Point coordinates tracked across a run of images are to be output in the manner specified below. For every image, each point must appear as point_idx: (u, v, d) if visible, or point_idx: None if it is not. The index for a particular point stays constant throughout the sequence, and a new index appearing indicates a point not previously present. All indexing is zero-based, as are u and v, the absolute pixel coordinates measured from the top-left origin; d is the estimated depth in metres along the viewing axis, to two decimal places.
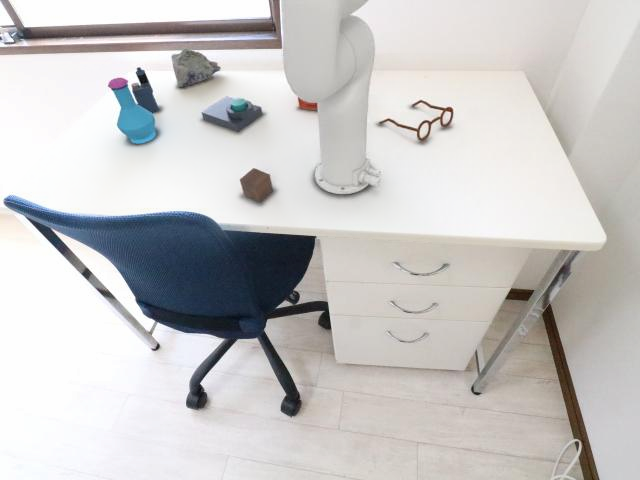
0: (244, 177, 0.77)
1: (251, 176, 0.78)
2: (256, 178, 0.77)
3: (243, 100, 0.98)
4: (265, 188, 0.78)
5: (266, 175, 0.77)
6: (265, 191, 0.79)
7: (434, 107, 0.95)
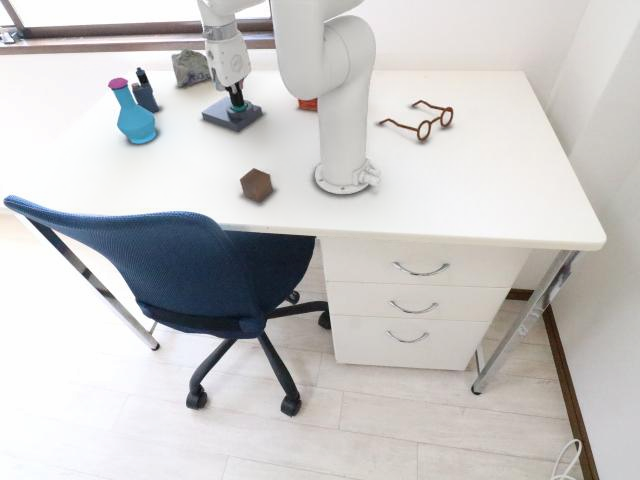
0: (244, 177, 0.77)
1: (251, 176, 0.78)
2: (256, 178, 0.77)
3: None
4: (265, 188, 0.78)
5: (266, 175, 0.77)
6: (265, 191, 0.79)
7: (434, 107, 0.95)
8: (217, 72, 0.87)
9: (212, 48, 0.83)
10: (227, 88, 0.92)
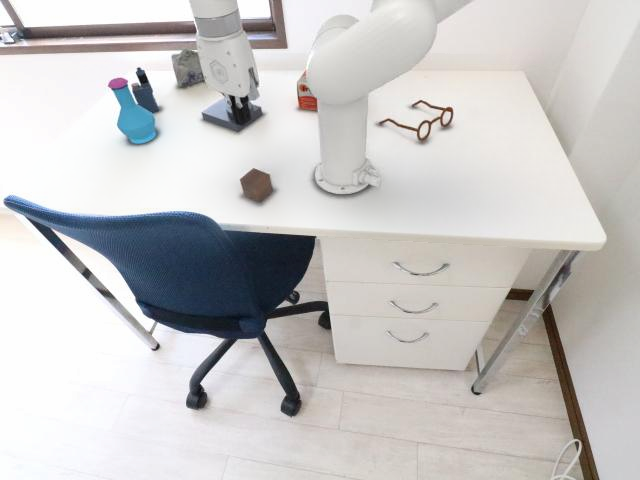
0: (244, 177, 0.77)
1: (251, 176, 0.78)
2: (256, 178, 0.77)
3: None
4: (265, 188, 0.78)
5: (266, 175, 0.77)
6: (265, 191, 0.79)
7: (434, 107, 0.95)
8: None
9: None
10: (222, 92, 0.72)
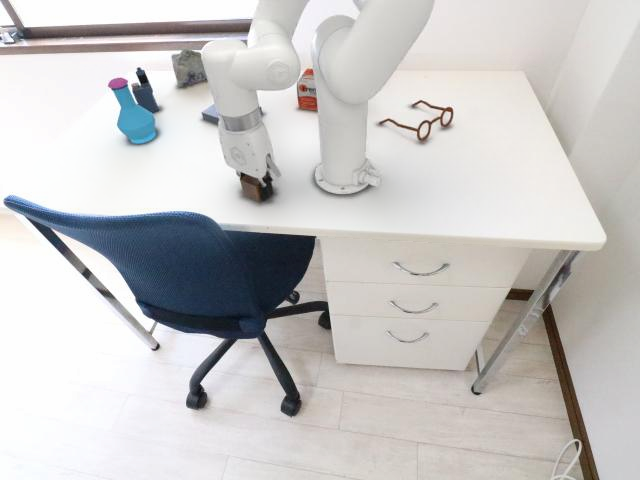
0: (244, 177, 0.77)
1: (251, 176, 0.78)
2: (256, 178, 0.77)
3: None
4: None
5: None
6: None
7: (434, 107, 0.95)
8: None
9: None
10: None
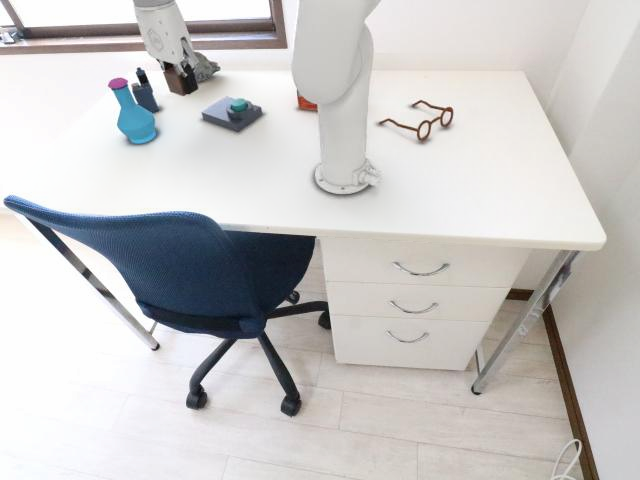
0: (167, 70, 0.80)
1: (174, 69, 0.80)
2: (179, 70, 0.80)
3: (243, 100, 0.98)
4: None
5: None
6: None
7: (434, 107, 0.95)
8: None
9: None
10: (156, 58, 0.80)
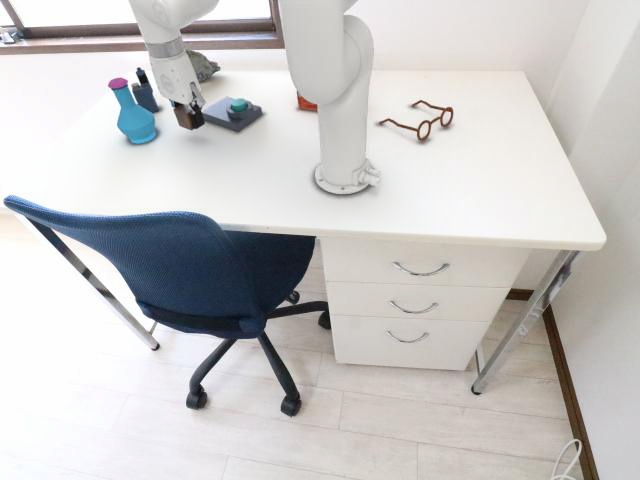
0: (177, 107, 0.89)
1: (183, 107, 0.89)
2: None
3: (243, 100, 0.98)
4: None
5: None
6: None
7: (434, 107, 0.95)
8: None
9: None
10: None
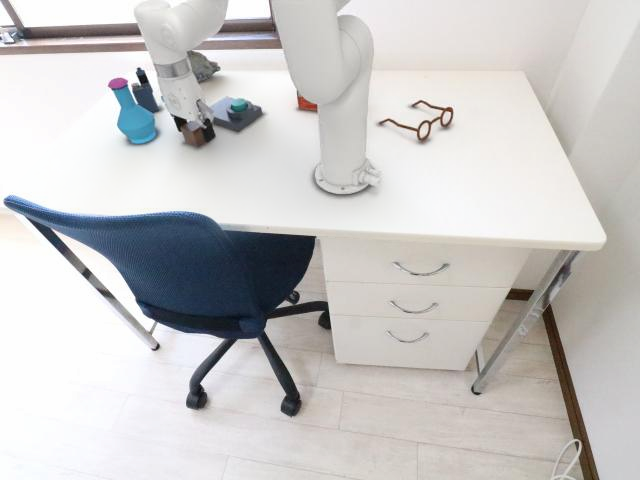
0: (184, 125, 0.93)
1: (190, 124, 0.93)
2: (194, 126, 0.92)
3: (243, 100, 0.98)
4: (202, 135, 0.93)
5: None
6: (202, 138, 0.94)
7: (434, 107, 0.95)
8: None
9: None
10: None
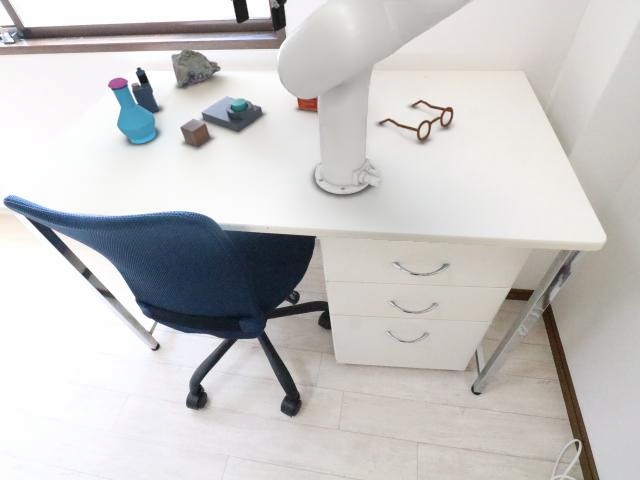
0: (184, 125, 0.93)
1: (190, 124, 0.93)
2: (194, 126, 0.92)
3: (243, 100, 0.98)
4: (202, 135, 0.93)
5: (202, 123, 0.93)
6: (202, 138, 0.94)
7: (434, 107, 0.95)
8: None
9: None
10: None
